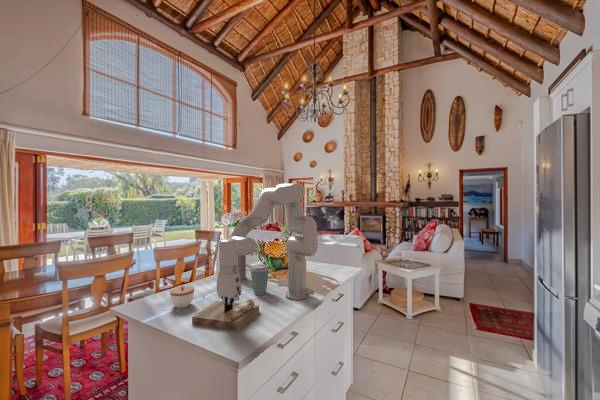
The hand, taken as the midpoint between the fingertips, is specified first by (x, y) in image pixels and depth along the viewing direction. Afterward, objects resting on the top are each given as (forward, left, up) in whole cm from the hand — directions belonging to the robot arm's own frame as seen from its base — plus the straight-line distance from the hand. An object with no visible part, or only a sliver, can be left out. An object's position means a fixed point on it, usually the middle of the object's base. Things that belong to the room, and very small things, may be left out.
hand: (228, 312), depth 114 cm
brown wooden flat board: (+3, -4, -4) cm, 7 cm away
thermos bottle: (+26, -57, -4) cm, 63 cm away
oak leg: (-4, -3, -1) cm, 5 cm away
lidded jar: (+31, -10, -5) cm, 33 cm away
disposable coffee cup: (+2, -36, -4) cm, 36 cm away
